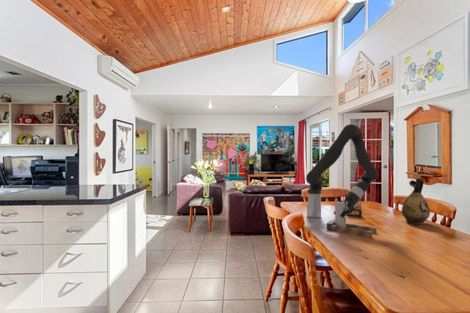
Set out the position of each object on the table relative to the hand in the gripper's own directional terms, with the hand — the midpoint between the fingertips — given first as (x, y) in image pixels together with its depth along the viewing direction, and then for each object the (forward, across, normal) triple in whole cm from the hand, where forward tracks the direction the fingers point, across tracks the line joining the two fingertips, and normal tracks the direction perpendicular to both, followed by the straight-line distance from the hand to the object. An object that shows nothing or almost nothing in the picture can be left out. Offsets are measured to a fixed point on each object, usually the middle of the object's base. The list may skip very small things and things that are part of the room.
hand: (338, 215), depth 160 cm
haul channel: (+2, +5, +10) cm, 11 cm away
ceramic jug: (-36, 0, +49) cm, 60 cm away
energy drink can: (+4, 0, +6) cm, 8 cm away
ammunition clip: (-17, -28, +30) cm, 44 cm away
